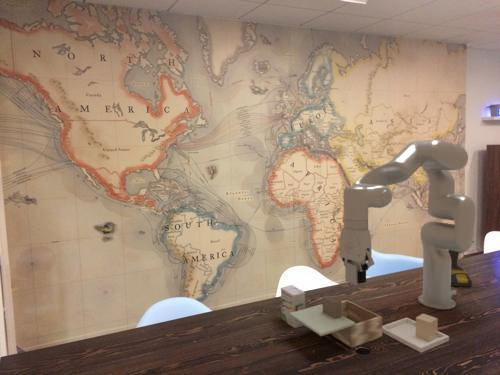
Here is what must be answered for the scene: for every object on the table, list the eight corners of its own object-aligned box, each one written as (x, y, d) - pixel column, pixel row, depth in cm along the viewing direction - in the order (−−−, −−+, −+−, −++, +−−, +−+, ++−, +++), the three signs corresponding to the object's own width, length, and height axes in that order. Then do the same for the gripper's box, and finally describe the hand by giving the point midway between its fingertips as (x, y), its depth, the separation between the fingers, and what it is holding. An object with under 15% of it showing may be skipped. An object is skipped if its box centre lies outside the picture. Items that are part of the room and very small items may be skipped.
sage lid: (321, 306, 119) (321, 289, 119) (355, 324, 105) (355, 306, 105) (289, 315, 113) (289, 298, 112) (321, 336, 99) (320, 316, 99)
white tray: (406, 322, 121) (406, 317, 121) (448, 342, 107) (449, 336, 107) (379, 332, 115) (379, 326, 114) (421, 354, 101) (421, 348, 101)
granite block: (355, 278, 117) (355, 260, 116) (365, 282, 113) (366, 263, 112) (345, 280, 115) (345, 262, 114) (355, 284, 111) (355, 266, 110)
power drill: (483, 292, 145) (485, 232, 143) (461, 293, 145) (462, 233, 143) (455, 276, 165) (456, 223, 163) (436, 276, 165) (437, 224, 163)
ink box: (280, 318, 127) (280, 287, 126) (292, 315, 129) (291, 284, 128) (294, 328, 119) (293, 294, 118) (306, 325, 121) (305, 292, 120)
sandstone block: (423, 331, 113) (423, 313, 113) (437, 336, 110) (437, 318, 109) (415, 335, 111) (415, 317, 110) (430, 341, 107) (430, 322, 107)
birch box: (347, 318, 125) (347, 299, 124) (382, 338, 111) (382, 316, 111) (318, 328, 119) (317, 308, 118) (351, 349, 105) (351, 327, 105)
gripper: (328, 222, 118) (329, 275, 119) (367, 230, 103) (367, 290, 105) (345, 219, 122) (345, 271, 123) (385, 227, 107) (385, 286, 108)
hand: (355, 279), depth 114 cm, fingers closed on granite block, 4 cm apart
